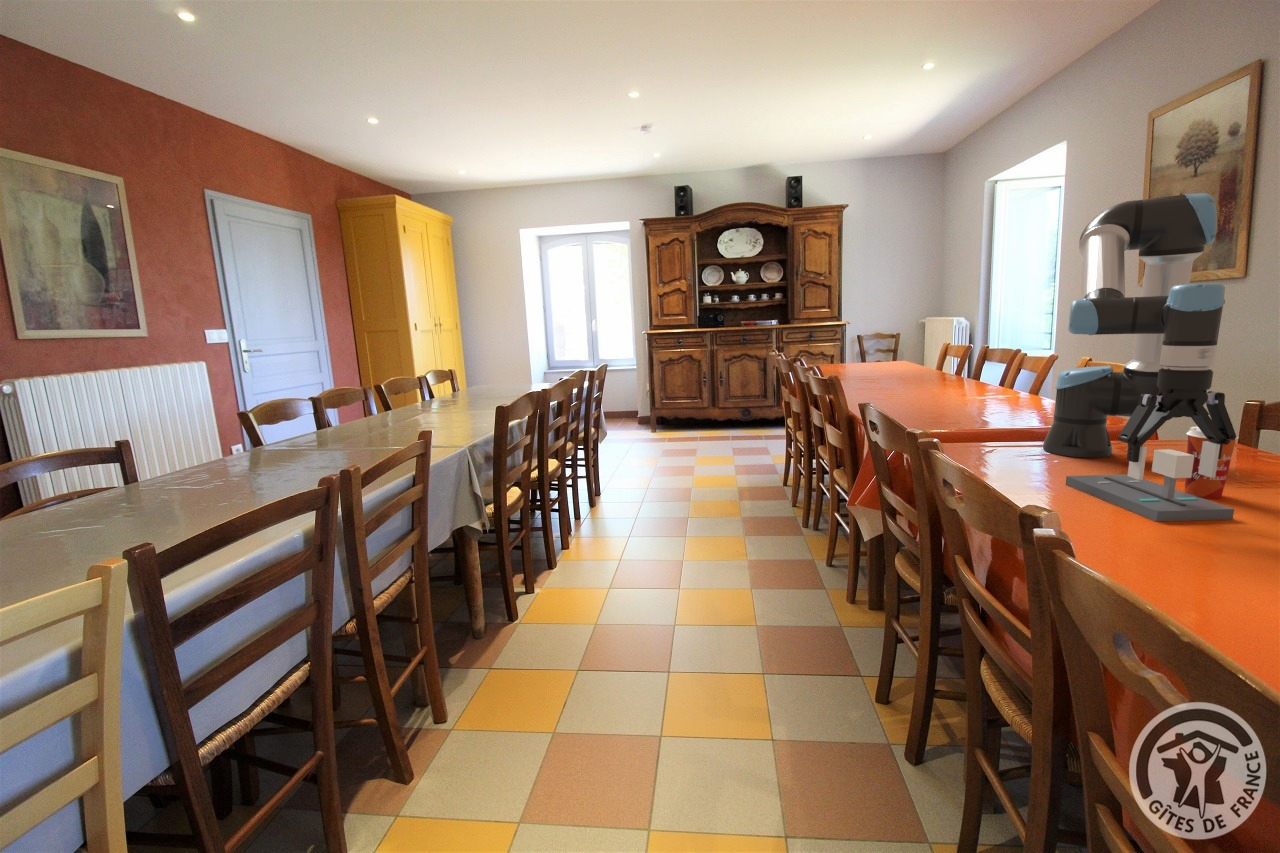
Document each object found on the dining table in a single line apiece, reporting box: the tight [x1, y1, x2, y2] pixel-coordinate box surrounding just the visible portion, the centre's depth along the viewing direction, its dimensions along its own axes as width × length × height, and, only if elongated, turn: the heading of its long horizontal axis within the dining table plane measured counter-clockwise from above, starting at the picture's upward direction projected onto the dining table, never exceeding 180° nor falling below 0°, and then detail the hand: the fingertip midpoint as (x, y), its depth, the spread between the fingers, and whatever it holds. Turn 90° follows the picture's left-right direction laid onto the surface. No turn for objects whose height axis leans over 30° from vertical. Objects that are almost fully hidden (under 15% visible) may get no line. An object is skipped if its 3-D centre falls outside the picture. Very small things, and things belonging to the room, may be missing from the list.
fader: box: [1151, 448, 1194, 499], centre depth 112 cm, size 5×3×9 cm, turn 179°
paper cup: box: [1184, 426, 1240, 499], centre depth 120 cm, size 8×8×14 cm
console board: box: [1065, 473, 1235, 522], centre depth 119 cm, size 24×14×2 cm, turn 179°
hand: (1170, 476), depth 112 cm, fingers open, 13 cm apart
